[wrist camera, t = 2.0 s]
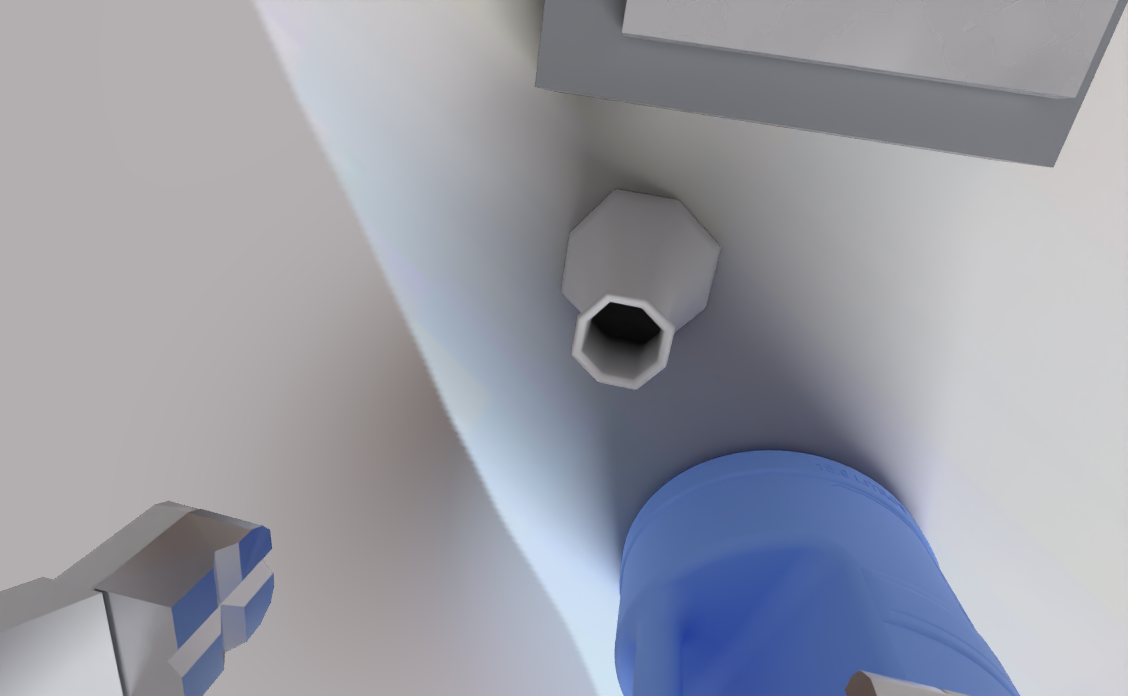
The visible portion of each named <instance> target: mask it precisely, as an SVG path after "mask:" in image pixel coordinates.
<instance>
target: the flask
mask: <svg viewBox="0 0 1128 696" xmlns="http://www.w3.org/2000/svg"><path fill="white" fill-rule="evenodd" d="M720 251H721V247H720V246H719V244H718V243H717V242H716V241H715V240H714V239H713V238H712V237H711V235H710V234H709V233H708V232H707V231H706V230H705V229H704V228H703V227H702V225H701V224H700V223H699V222H698V221H697V220H696V219H695V218H694V216H693V215H692V214H691V213H690V212H689V211H688V210H687V209H686V207H685V206H684V205H683V204H682V203H681V202H680V201H679V200H676V199H670V198H664V197H659V196H653V195H647V194H641V193H636V192H630V191H624V190H618V189H614V190H613V191H612V192H611V193H610V194H609V195H608V196H607V197H606V198H605V199H604V200H603V201H602V202H601V203H600V204H599V205H598V206H597V207H596V208H595V209H594V210H593V211H592V212H591V213H590V214H588V215H587V216H586V217H585V218H584V219H583V220H582V221H581V222H580V223H579V224H578V225H577V226H576V227H575V228H574V229H573V230H572V231H571V232H570V233H569V240H568V247H567V253H566V260H565V266H564V273H563V279H562V286H561V292H562V294H563V295H564V296H565V297H566V298H567V299H568V300H569V301H570V302H571V303H572V304H573V305H574V306H575V307H576V308H577V309H578V310H579V311H580V314H579V315H578V316H577V320H576V326H575V332H574V338H573V345H572V351H571V355H572V356H573V357H574V358H575V359H576V361H577V362H578V363H579V364H580V365H581V366H582V367H583V368H584V369H585V370H586V371H587V372H588V373H589V374H590V375H591V376H592V377H593V378H594V379H595V380H596V381H597V382H599V383H604V384H609V385H614V386H618V387H623V388H628V389H633V390H637V389H638V388H640V387H641V386H642V385H644V384H645V383H646V382H647V381H649V380H650V379H651V378H652V377H654V376H655V375H656V374H658V373H659V372H660V371H661V370H663V369H664V368H665V367H666V366H667V361H668V357H669V353H670V349H671V344H672V340H673V336H674V333H675V332H676V331H678V330H679V329H680V328H681V327H683V326H684V325H685V324H686V323H688V322H689V321H690V320H691V319H693V318H694V317H695V316H696V315H698V314H699V313H700V312H701V311H703V310H704V309H705V308H706V306H707V302H708V298H709V294H710V290H711V286H712V282H713V278H714V274H715V270H716V266H717V262H718V259H719V255H720Z"/></svg>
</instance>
